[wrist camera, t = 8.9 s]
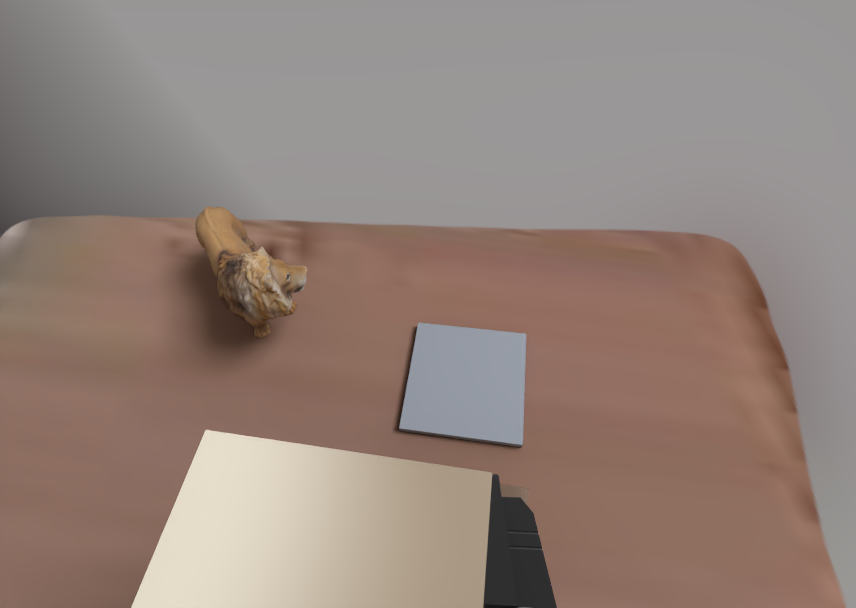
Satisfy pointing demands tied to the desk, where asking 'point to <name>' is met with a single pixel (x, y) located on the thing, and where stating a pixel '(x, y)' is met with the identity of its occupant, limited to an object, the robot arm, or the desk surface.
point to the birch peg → (319, 531)
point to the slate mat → (466, 384)
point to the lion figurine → (247, 271)
